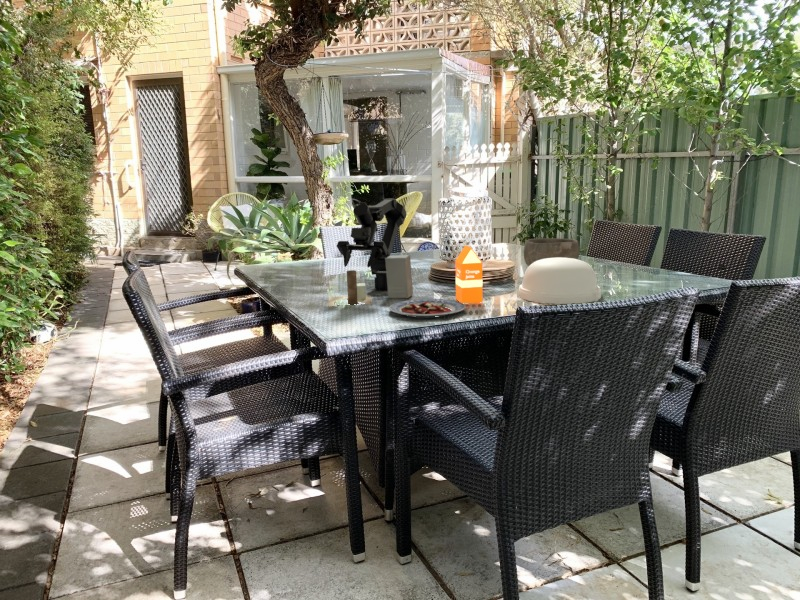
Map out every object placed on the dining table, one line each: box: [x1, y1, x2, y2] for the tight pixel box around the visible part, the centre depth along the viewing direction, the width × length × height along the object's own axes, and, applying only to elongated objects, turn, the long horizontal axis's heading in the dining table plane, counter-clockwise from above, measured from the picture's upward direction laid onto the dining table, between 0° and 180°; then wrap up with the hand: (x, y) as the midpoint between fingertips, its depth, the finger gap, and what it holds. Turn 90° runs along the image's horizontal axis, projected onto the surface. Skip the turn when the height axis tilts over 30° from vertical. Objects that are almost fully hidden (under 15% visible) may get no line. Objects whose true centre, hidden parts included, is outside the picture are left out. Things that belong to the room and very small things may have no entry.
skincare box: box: [385, 254, 414, 299], centre depth 236 cm, size 8×7×16 cm
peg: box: [346, 269, 358, 305], centre depth 225 cm, size 3×3×12 cm
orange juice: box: [455, 244, 484, 304], centre depth 224 cm, size 8×9×20 cm
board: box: [327, 294, 373, 308], centre depth 232 cm, size 16×18×1 cm
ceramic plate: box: [388, 298, 466, 318], centre depth 211 cm, size 26×26×3 cm
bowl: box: [523, 237, 580, 268], centre depth 280 cm, size 24×24×15 cm
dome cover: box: [517, 257, 602, 305], centre depth 230 cm, size 32×30×14 cm
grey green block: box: [357, 282, 367, 299], centre depth 237 cm, size 6×6×5 cm
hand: (356, 266), depth 228 cm, fingers open, 9 cm apart
